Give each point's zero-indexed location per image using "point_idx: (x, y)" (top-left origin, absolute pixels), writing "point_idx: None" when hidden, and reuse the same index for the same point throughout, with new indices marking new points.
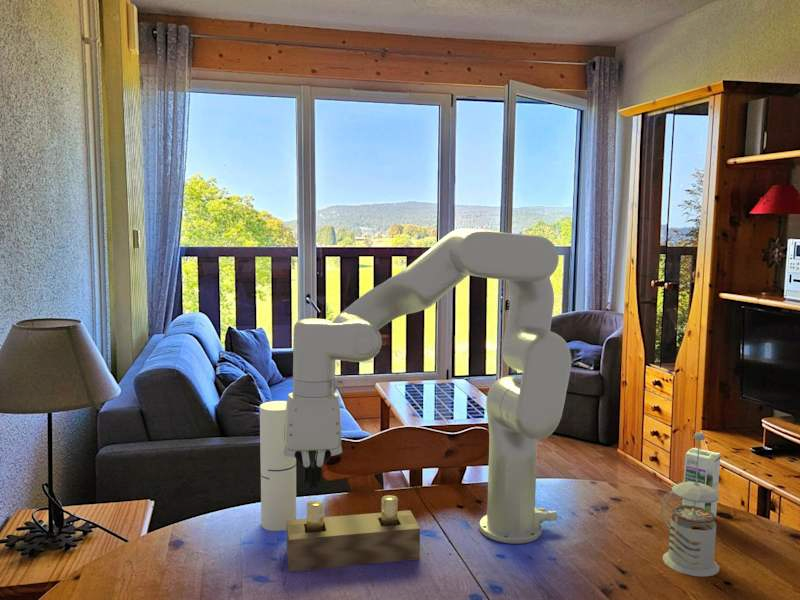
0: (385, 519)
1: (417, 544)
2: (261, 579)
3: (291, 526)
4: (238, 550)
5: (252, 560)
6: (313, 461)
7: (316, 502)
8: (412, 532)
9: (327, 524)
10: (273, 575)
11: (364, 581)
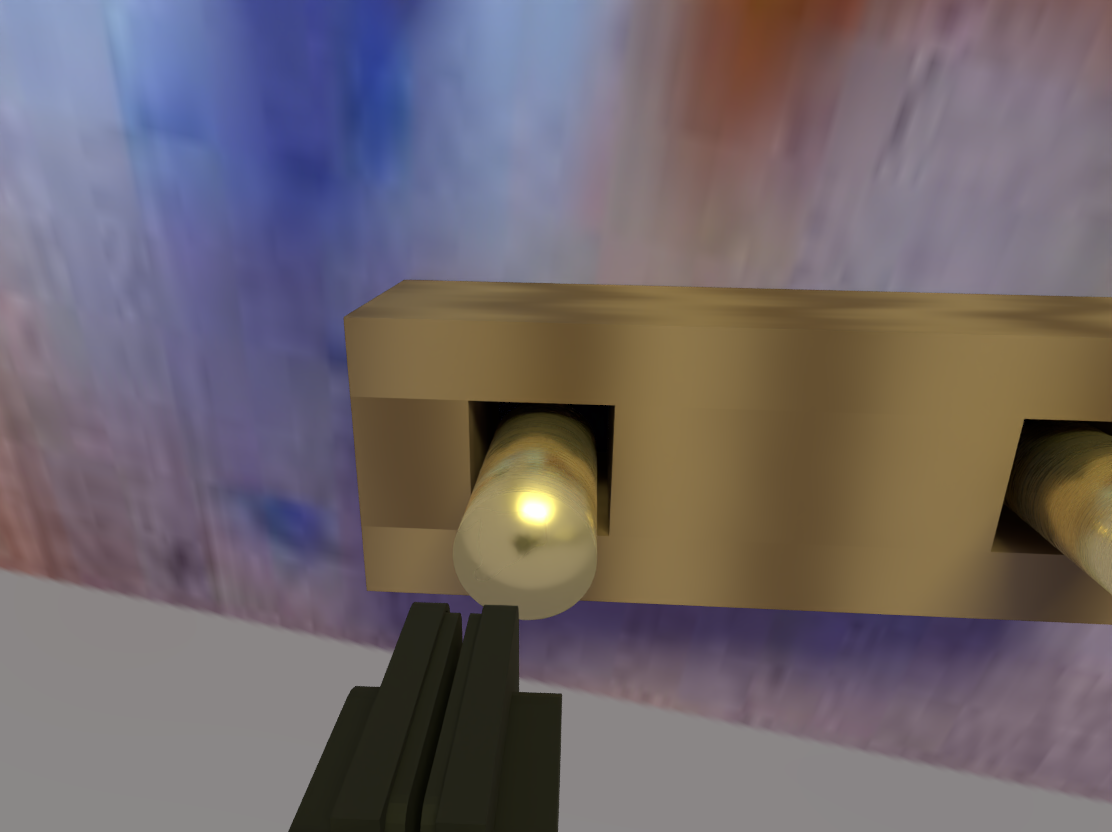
0: (1054, 545)
1: None
2: (291, 532)
3: (380, 422)
4: (131, 218)
5: (226, 349)
6: (439, 825)
7: (540, 531)
8: None
9: (631, 446)
10: (344, 511)
11: (747, 644)
